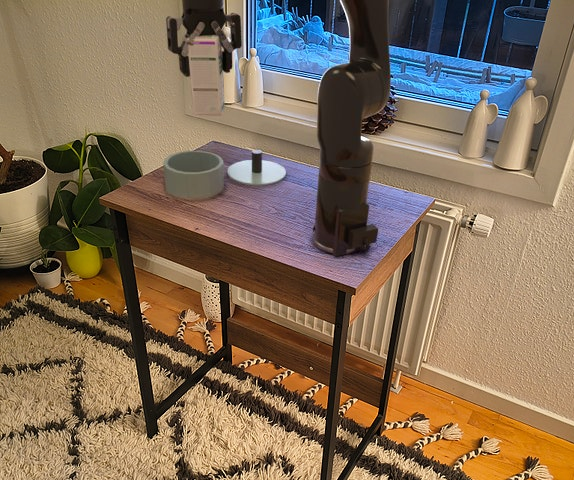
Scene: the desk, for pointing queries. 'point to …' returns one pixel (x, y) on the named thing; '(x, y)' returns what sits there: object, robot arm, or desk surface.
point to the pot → (193, 174)
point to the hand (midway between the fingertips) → (206, 73)
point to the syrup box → (206, 75)
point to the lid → (256, 171)
